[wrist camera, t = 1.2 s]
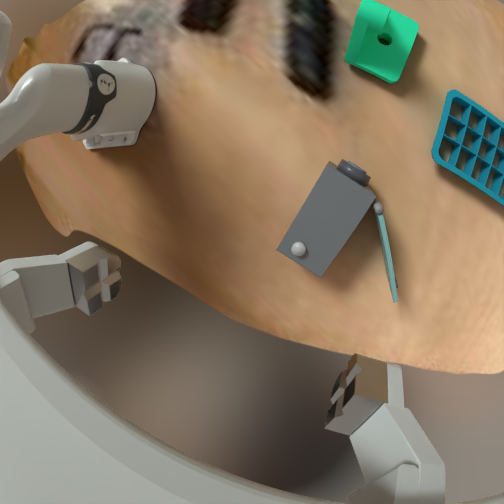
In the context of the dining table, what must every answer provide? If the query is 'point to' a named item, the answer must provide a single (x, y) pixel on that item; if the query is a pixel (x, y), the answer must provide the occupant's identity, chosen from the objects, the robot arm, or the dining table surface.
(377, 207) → the side door
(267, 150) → the dining table surface
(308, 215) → the action camera
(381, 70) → the camera mount
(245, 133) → the dining table surface
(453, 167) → the ice cube tray
